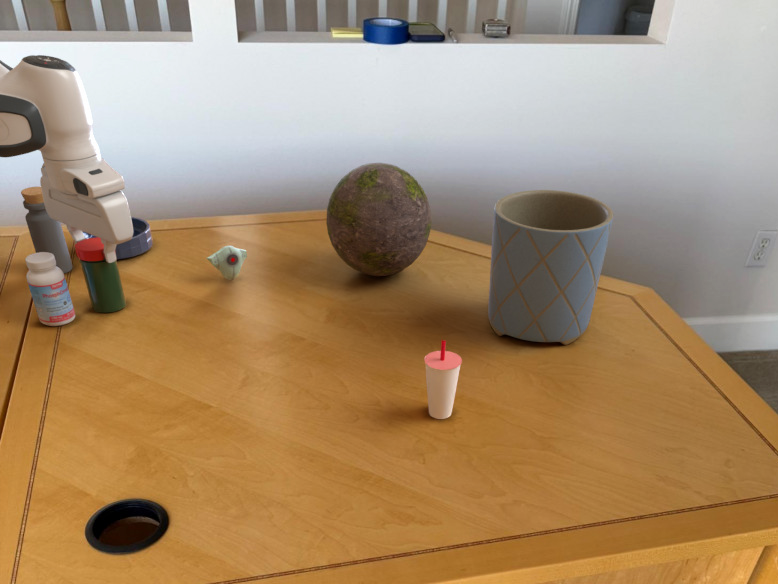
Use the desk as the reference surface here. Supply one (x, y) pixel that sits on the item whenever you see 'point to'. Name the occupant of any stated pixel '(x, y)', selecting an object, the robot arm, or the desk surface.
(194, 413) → the desk surface
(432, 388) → the cup
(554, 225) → the planter
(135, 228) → the bowl
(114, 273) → the green jar
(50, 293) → the pill bottle
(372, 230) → the decorative stone
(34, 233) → the bottle
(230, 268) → the robot head
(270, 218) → the desk surface
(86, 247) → the cap
